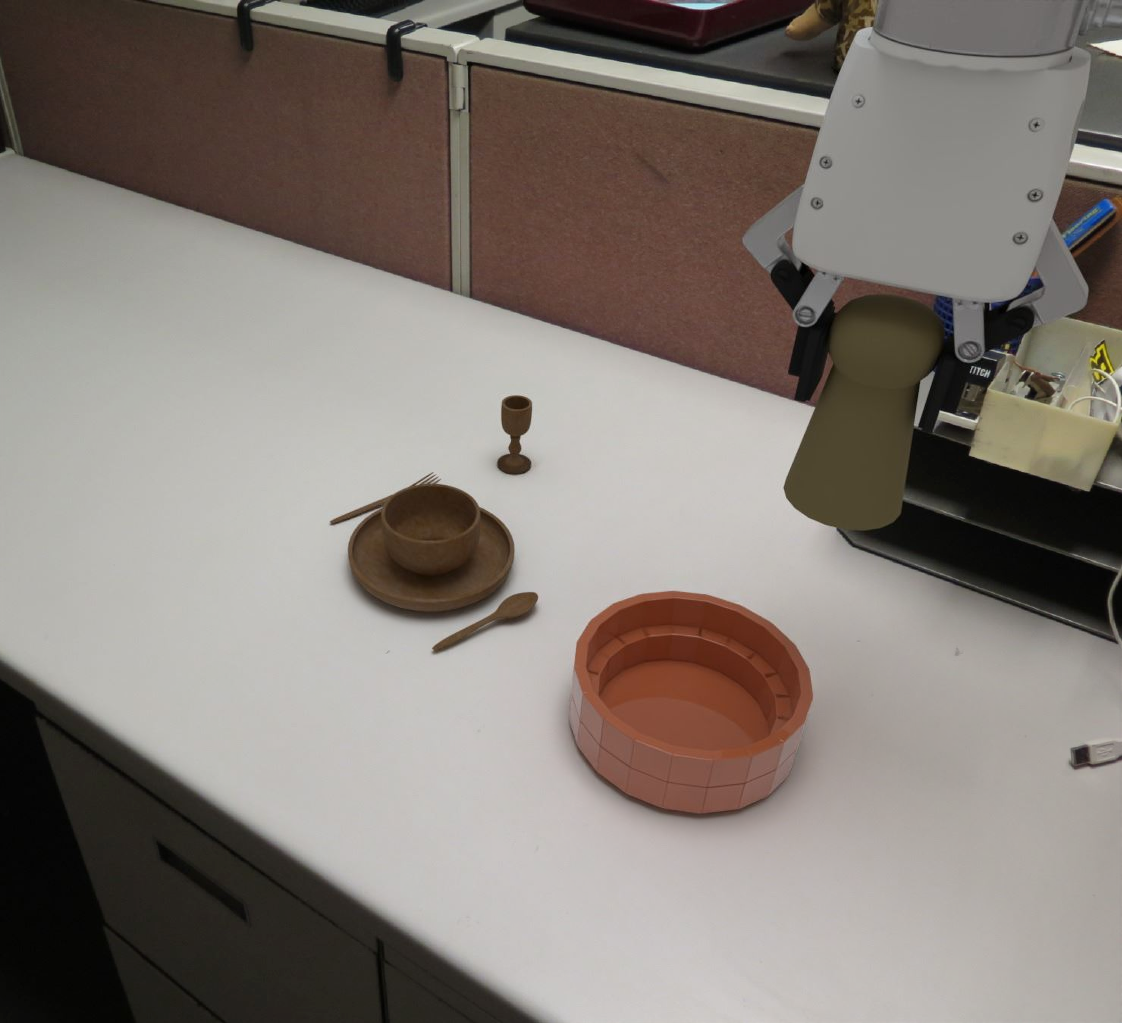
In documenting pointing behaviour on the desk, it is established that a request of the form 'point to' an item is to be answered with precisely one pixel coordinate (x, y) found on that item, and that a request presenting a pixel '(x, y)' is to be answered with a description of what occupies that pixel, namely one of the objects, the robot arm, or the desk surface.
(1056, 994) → the desk surface
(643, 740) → the bowl
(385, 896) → the desk surface
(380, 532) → the place setting
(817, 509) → the cork
